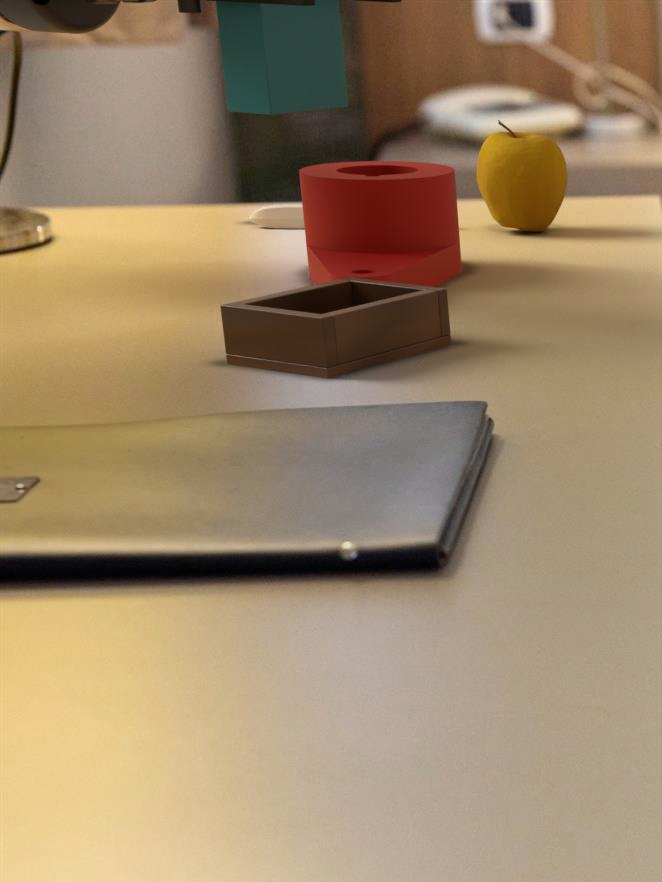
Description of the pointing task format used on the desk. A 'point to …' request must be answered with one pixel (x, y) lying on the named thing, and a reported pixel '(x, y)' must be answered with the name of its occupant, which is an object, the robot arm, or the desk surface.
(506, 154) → the apple
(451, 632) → the desk surface
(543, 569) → the desk surface
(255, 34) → the box
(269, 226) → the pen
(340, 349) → the box
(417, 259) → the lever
